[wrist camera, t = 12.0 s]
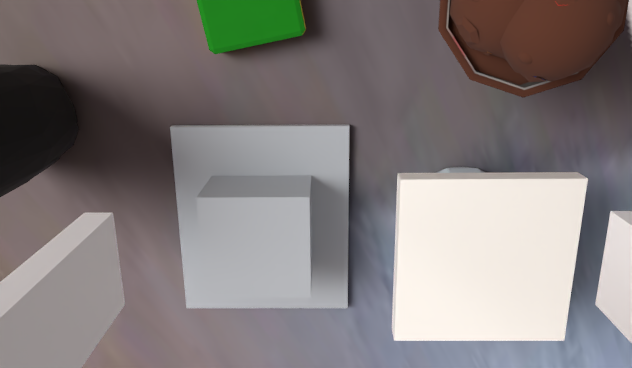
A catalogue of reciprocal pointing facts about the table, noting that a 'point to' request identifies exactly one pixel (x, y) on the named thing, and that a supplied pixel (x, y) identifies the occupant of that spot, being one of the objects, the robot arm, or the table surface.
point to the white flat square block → (485, 255)
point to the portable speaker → (32, 123)
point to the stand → (263, 214)
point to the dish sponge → (249, 22)
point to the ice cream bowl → (530, 39)
